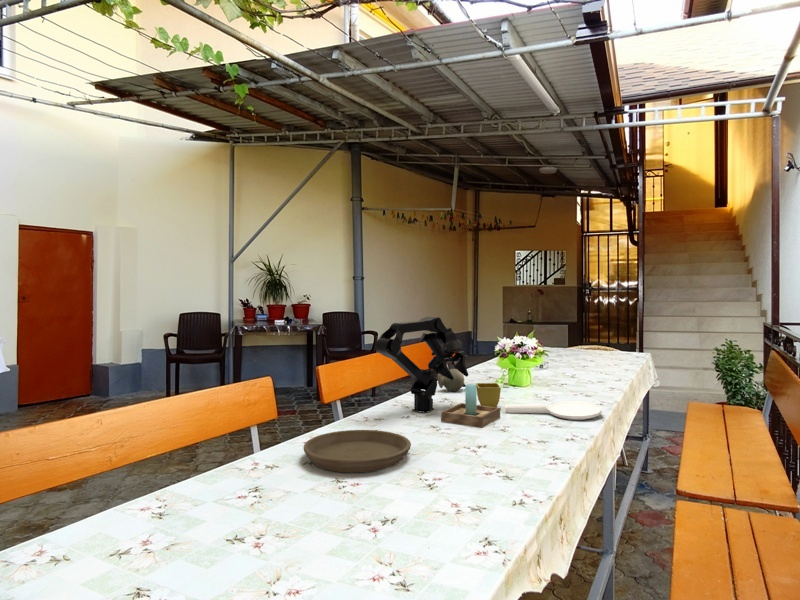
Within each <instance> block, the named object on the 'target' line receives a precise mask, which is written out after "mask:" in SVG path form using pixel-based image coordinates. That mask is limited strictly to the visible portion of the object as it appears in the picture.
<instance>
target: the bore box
mask: <svg viewBox="0 0 800 600" xmlns="http://www.w3.org/2000/svg"><path fill="white" fill-rule="evenodd" d="M440 414H441V416H440V418H441V419H440V421H441V423H442V422H443V423H450V424H456V425H460V426H461V425H462V426H469V427H475V428H476V427H477V428H484V427H486V426H488V425H489V424H491V423H493V422H495V421H497V420H499V419H500V418H501V407H488V406H481V405H478V404H477V416H473V415H466V408H465V402H464V403H463V402H460V403H459V404H456V405H454V406H452V407H449V408H447V409H444V410H443V411H440Z"/></svg>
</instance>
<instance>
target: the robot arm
mask: <svg viewBox="0 0 800 600" xmlns="http://www.w3.org/2000/svg"><path fill="white" fill-rule="evenodd" d="M422 331H425V332H426V331H427V332H430V333H424V332H423V333H422V335H421V337H420V343H423V342H424V343H425V344H426V345H427V346H428V348H429V349H430V350H431V352H432V353H431V356H433V357H432V358H431V360H430V361H429V362H428V363H427V368H428V369H423V368H422V369H421V368H420V367H419V366H418V365H417V364H416V363H414V361H412V360H411V359H410V358H409V357H408V356H407V355H406V354H405V353H404V352H403V351H402V347H401V345H402V344H403V343H402V342H403V339H404V335H405V334H407V333H415V332H422ZM393 337H394V338H393ZM462 347H463V342H462V341H461V340H460V339H457V337H456V334H455V333H454V331H453V330H452V327H446V326H445V324H444V323H443V321H442V319H441V317H439V316H438V317H435V316H425V317H422V318H421V319H419V320H414V321H413V320H411V321H404V322H394V323H392V324H391V325H390V327H389V328H388V329H387V330H385V331H384V332H383V333H381V335H380V336H379V338H378V339H377V340H376V342H375V348H374V349H375V351H376V353H378V354H380V355H382V356H384V357H385V358H388V359H390V360H392V361H393V362H394V363H395V364H396V365H398V366H399V368H401V369H402V370H403V371H404V372H405V373H406V374H407V375H408V376H409V377H410V378H412V382H413V384H412V386H411V387H410V394H412V395H414V396H413V397H414V399H413V400H414V403H413V404H414V405H413V406H414V408H413V409H412V410H411V411H413V412H419V413H426V414H427V413H428V412H430V411H433V410H435V408H434V399H433V396H435V395H436V392H437V391H436V390H437V388H438V378H436V375H435V374H433V372H435V373H437V374H438V373H439V374H441V375H443V376H445V377H447V378H449V379H451V380H453V379H454V377H453V375H452V374H451V372H450V371H449V369H450V368H449V367H448V366H447V365H448V364H449V363H450V364H451V365H453V367H454V369H457V370H458V371H460V372H461V373H462V374H463V376H465V377H466V378H468V376H469V373H468V369H467V366H466V360H467V357H468V354H467V353H466V351H464V350H463V351H458V350H462ZM456 351H457V352H456ZM432 371H433V372H432Z"/></svg>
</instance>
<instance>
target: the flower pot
mask: <svg viewBox="0 0 800 600" xmlns="http://www.w3.org/2000/svg"><path fill="white" fill-rule="evenodd" d="M475 385H476V397H477V399H478V402H479V404H480V406H488V407H496V408H498V407H497V406H498V404H499V402H500V398H501V388H502V387H501V385H500V384H499V383H497V382H492V383H491V382H477V383H476V384H475Z"/></svg>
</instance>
